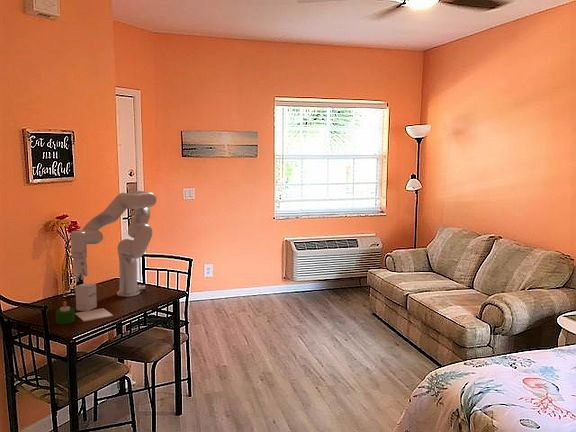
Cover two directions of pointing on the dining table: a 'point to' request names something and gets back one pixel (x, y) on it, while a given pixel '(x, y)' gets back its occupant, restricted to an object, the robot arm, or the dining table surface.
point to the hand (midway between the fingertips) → (79, 288)
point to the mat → (93, 314)
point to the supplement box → (86, 297)
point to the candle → (65, 314)
